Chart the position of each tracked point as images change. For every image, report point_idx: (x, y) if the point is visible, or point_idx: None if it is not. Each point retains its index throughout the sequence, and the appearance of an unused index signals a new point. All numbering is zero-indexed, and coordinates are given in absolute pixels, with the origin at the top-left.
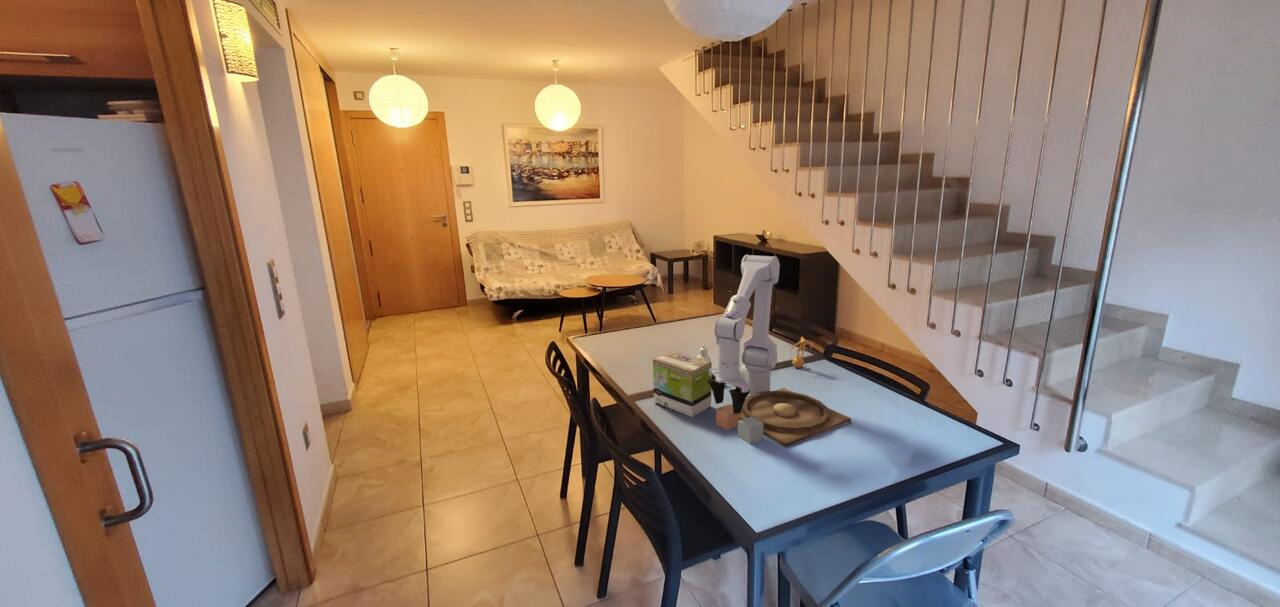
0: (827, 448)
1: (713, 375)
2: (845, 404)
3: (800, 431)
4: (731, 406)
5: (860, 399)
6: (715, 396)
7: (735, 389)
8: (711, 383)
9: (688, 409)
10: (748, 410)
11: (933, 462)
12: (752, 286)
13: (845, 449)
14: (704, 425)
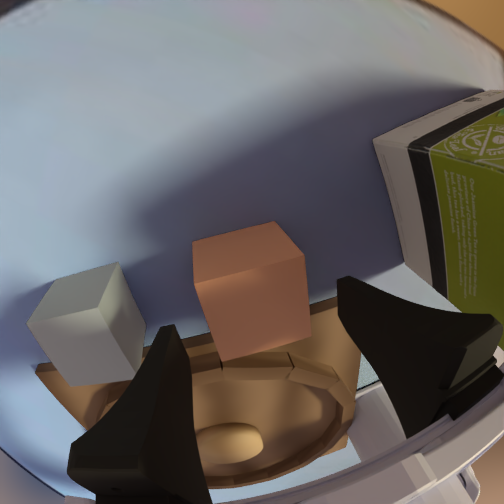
0: (46, 423)
1: (494, 386)
2: (230, 490)
3: None
4: (284, 339)
5: (238, 499)
6: (368, 298)
7: (156, 494)
8: (456, 339)
9: (406, 134)
10: (262, 379)
11: (33, 470)
12: None
13: (48, 438)
14: (279, 156)
